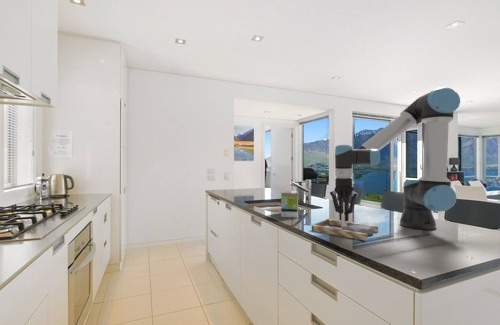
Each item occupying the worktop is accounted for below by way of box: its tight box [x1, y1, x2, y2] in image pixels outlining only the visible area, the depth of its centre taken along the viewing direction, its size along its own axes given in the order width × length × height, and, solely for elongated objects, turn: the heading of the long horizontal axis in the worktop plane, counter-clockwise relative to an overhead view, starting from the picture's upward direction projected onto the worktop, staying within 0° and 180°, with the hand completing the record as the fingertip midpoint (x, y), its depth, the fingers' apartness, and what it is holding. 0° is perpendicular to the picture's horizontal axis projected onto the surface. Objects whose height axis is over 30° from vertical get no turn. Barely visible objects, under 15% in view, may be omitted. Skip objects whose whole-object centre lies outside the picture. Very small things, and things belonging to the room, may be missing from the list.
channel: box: [311, 218, 379, 241], centre depth 117 cm, size 24×18×2 cm
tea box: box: [280, 190, 299, 219], centre depth 155 cm, size 15×10×15 cm
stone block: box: [341, 224, 375, 237], centre depth 112 cm, size 12×5×10 cm
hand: (344, 227), depth 117 cm, fingers closed
